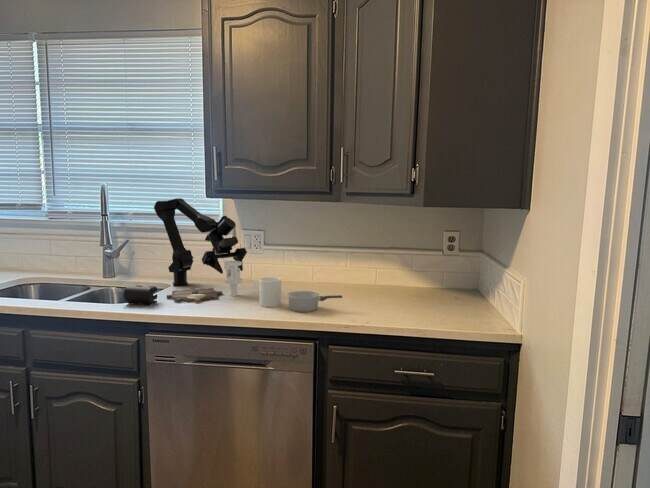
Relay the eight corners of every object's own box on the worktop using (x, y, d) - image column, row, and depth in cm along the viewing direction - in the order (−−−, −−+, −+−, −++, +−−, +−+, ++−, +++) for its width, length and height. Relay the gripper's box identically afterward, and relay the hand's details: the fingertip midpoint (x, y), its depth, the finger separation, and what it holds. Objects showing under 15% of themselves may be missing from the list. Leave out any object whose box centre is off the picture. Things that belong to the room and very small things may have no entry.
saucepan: (341, 315, 154) (341, 299, 154) (285, 313, 156) (285, 297, 155) (342, 306, 166) (343, 292, 165) (290, 304, 167) (290, 290, 167)
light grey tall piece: (222, 294, 182) (221, 258, 180) (238, 292, 185) (237, 257, 183) (228, 298, 176) (227, 261, 174) (244, 295, 179) (244, 259, 178)
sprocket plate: (165, 292, 184) (165, 287, 183) (218, 288, 192) (218, 284, 191) (167, 305, 164) (167, 300, 163) (226, 300, 172) (226, 295, 172)
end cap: (123, 305, 163) (122, 287, 162) (134, 301, 170) (133, 283, 169) (148, 307, 162) (148, 289, 161) (158, 302, 168) (158, 285, 168)
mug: (256, 300, 173) (255, 275, 172) (284, 303, 169) (284, 277, 168) (246, 305, 165) (246, 279, 164) (275, 308, 162) (275, 282, 160)
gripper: (204, 231, 176) (218, 262, 169) (244, 229, 188) (259, 257, 181) (195, 249, 182) (209, 279, 176) (235, 245, 195) (249, 273, 188)
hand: (232, 271), depth 180 cm, fingers open, 9 cm apart
